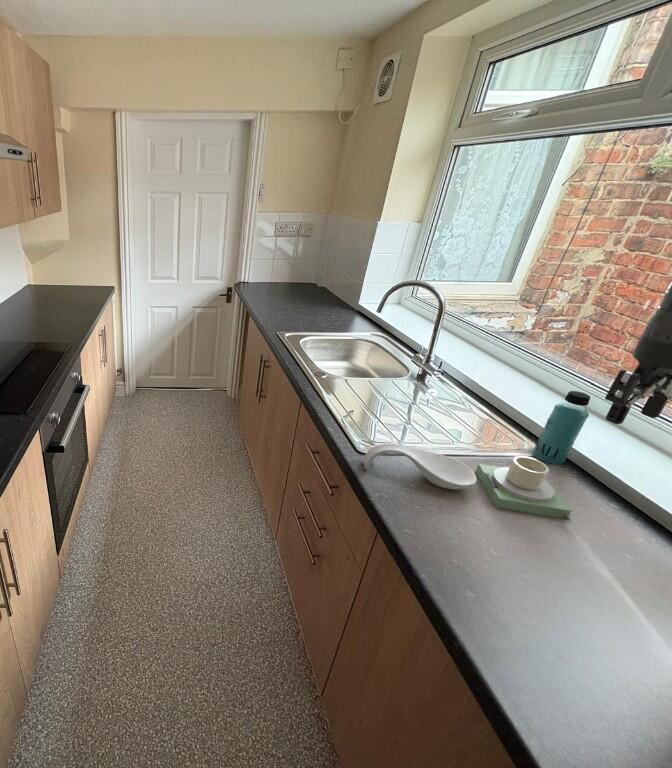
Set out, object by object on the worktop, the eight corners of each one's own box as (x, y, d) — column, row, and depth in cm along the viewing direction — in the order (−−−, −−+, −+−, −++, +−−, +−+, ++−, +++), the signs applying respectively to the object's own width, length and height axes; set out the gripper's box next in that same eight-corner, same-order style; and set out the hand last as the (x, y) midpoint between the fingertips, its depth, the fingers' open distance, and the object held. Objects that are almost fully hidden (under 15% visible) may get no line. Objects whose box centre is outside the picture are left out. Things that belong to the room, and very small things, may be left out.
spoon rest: (464, 471, 104) (474, 447, 101) (478, 502, 94) (489, 477, 91) (361, 453, 111) (367, 430, 108) (364, 480, 101) (371, 456, 98)
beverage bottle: (556, 457, 108) (592, 390, 99) (566, 472, 103) (604, 402, 94) (525, 451, 111) (557, 385, 102) (533, 466, 105) (567, 397, 96)
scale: (537, 481, 100) (543, 469, 98) (566, 519, 89) (573, 507, 87) (475, 471, 104) (479, 460, 102) (495, 507, 92) (501, 495, 91)
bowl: (532, 475, 97) (540, 458, 94) (545, 493, 91) (555, 475, 89) (501, 471, 98) (508, 453, 96) (512, 488, 93) (520, 470, 91)
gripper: (672, 349, 65) (625, 435, 72) (738, 339, 68) (686, 423, 75) (616, 333, 72) (578, 414, 79) (678, 325, 74) (636, 404, 82)
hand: (631, 418), depth 77 cm, fingers open, 8 cm apart
